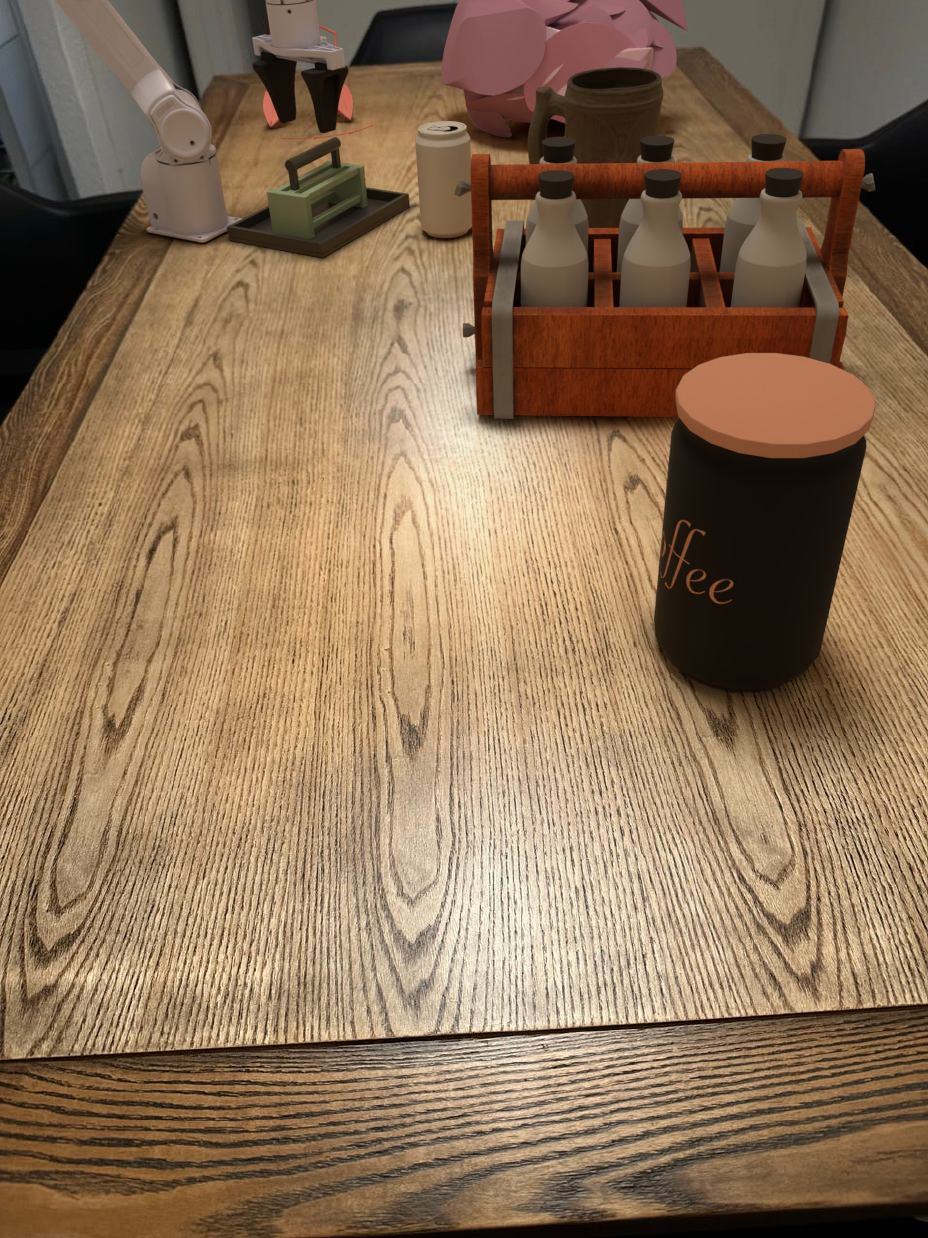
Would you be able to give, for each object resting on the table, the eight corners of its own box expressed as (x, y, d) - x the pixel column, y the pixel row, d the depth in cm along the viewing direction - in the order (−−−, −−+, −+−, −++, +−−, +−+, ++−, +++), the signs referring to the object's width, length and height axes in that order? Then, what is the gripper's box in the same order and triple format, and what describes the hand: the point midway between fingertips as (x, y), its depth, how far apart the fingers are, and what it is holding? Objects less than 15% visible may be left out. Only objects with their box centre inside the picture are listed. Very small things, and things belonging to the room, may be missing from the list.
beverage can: (467, 241, 128) (464, 134, 120) (415, 239, 129) (408, 133, 121) (478, 222, 133) (474, 119, 125) (427, 220, 134) (421, 118, 126)
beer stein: (673, 256, 122) (677, 61, 109) (645, 292, 114) (645, 87, 102) (547, 249, 128) (537, 64, 115) (512, 283, 120) (497, 88, 108)
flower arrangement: (653, 139, 173) (678, -68, 160) (693, 151, 153) (724, -86, 140) (437, 129, 170) (444, -83, 157) (448, 139, 149) (456, -104, 136)
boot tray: (228, 240, 131) (226, 226, 130) (320, 192, 144) (318, 179, 143) (323, 258, 126) (321, 243, 124) (409, 206, 138) (408, 193, 137)
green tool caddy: (272, 233, 131) (261, 160, 126) (331, 200, 140) (323, 131, 134) (310, 239, 129) (300, 166, 124) (368, 205, 138) (361, 135, 132)
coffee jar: (636, 600, 74) (656, 358, 62) (789, 587, 74) (835, 344, 63) (673, 707, 66) (703, 451, 54) (844, 692, 66) (909, 435, 55)
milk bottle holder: (471, 321, 110) (464, 120, 98) (820, 322, 107) (858, 114, 95) (451, 422, 94) (440, 197, 82) (862, 427, 91) (914, 193, 79)
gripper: (358, -1, 121) (371, 127, 130) (278, -12, 129) (295, 109, 138) (311, 10, 117) (327, 141, 126) (231, -2, 125) (251, 122, 134)
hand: (307, 125), depth 131 cm, fingers open, 7 cm apart
